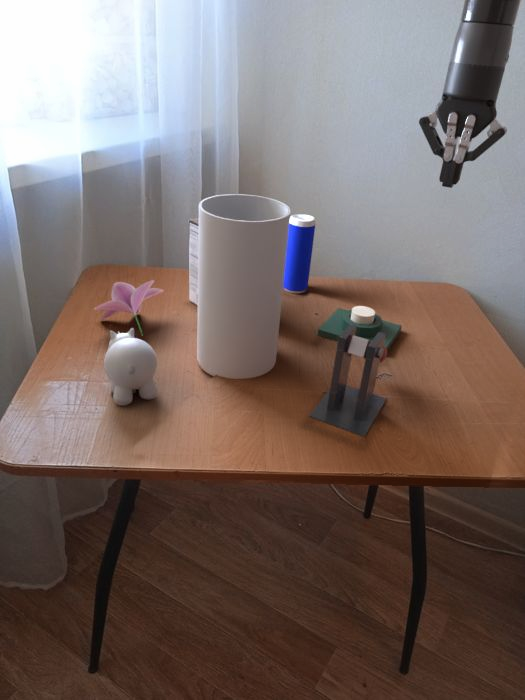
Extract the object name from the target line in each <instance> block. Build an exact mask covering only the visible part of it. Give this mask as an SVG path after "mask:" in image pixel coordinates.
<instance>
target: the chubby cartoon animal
mask: <svg viewBox="0 0 525 700" xmlns="http://www.w3.org/2000/svg"><path fill="white" fill-rule="evenodd" d="M109 337H110V340H109V343H108V349H107V351H106V353H105V355H104V360H103V368H104V373H105V375H106V377H107V378H108V380H109V390H110V392H111V393H113V397H112V398H113V399H112V400H113V402H114V403H115V404H117V405H118V406H127V405H129V404H131V403H132V402H133V397H134V393H137V390H138V394H139V397H140V398H141V399H143V400H152V399H154V398H156V397H157V395H158V393H159V392H158V385H157V383H156V381H155V379H154V377H155V375H156V373H157V370H158V358H157V354H156V352H155V350H154V349H153V347H152V346H151V345H150V344H149V343H147V342H146V341H145V340H142V339H140V338H137V337H135V328H134V327H131V328H130V329H129V330H128V331H127V332H120V331H119V330H118V331H117V333H116V332H115V331H114V330H110V331H109Z"/></svg>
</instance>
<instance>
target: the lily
mask: <svg viewBox="0 0 525 700" xmlns="http://www.w3.org/2000/svg"><path fill="white" fill-rule="evenodd" d="M154 283H155V279H152V280H149V281H147V282H145V283H143V284H140V285H139V286H138V287H137V288H136V287H135V286H133V284H130V283H128V282H124V281H116V282H114V283H113V285H112V287H111V300H108V301H105V302H103V303H101V304H98V305H97V306H96V307H94V308H92V310H93V311H103V313H102V315H101V317H100V321H101V322H104V321H105V320H106V319H103V318H107V317H109V318H110V317H112V316H114V315H116V314H118V313H120V312H123V313H128V314H133V316H134V319H135V322H136V324H137V327H138V329H139V333H140V335H141V337H143V336H144V333H143V330H142V328H141V325H140V323H139V319H138V317H137V316H138V315H139V314H140V313H141V310H142V302H144V301H145V300H147V299H149V298H152V297H153V296H156V295H159V294H161V293H163V292H164V291H165V289H163V288H157V287H152V285H153V284H154ZM138 312H140V313H138ZM101 319H103V320H101ZM107 319H108V318H107ZM141 333H143V334H141Z"/></svg>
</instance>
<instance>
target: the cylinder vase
mask: <svg viewBox="0 0 525 700" xmlns="http://www.w3.org/2000/svg"><path fill="white" fill-rule="evenodd" d="M290 217H291V208H290V207H289V205H287V203H284V202H282V201H279V200H277V199H274V198H272V197H267V196H263V195H254V194H245V193H244V194H242V193H234V194H233V193H232V194H231V193H229V194H228V193H227V194H226V193H225V194H218V195H213V196H209V197H206V198H204V199H201V201H199V202H198V218H199V234H198V305H197V316H196V317H197V321H196V323H197V324H196V325H197V326H196V327H197V328H196V331H197V332H196V335H197V336H196V360H197V363H198V365H199V367H200V368H201V369H202V370H203V371H204V372H205V373H207V374H208V375H210V376H212V377H216V376H218V377H221V378H227V379H235V380H236V379H237V380H243V379H244V380H245V379H246V380H247V379H253V378H256V377H261V376H263V375H265V374H267V373H268V372H270V371H271V370H272V369H273V368H274V367H275V365H276V361H277V354H278V353H277V352H278V343H279V335H280V334H279V333H280V332H279V331H280V323H281V311H282V302H283V292H284V288H283V283H284V272H285V262H286V252H287V242H288V232H289V221H290Z"/></svg>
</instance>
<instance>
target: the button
mask: <svg viewBox="0 0 525 700" xmlns="http://www.w3.org/2000/svg"><path fill="white" fill-rule="evenodd" d="M351 309H352V312H351V318H350V319H351V320H352V321H353V322H355V323H359V324H365V325H369V324H373V322H374V317H375V313H376V311H375V310H374V309H373V308H372V307H369V306H365V305H357V306H353V307H352V308H351Z"/></svg>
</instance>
